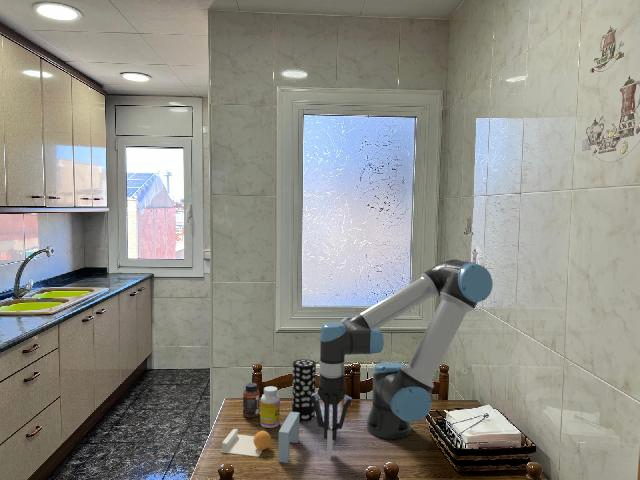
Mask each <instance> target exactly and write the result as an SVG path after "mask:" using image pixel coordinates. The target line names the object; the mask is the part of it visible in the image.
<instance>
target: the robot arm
mask: <svg viewBox="0 0 640 480" xmlns="http://www.w3.org/2000/svg"><path fill="white" fill-rule="evenodd" d="M493 283H494V282H493V278H492V275H491V272H490V271H489V270H488V269H487V268H486V267H485V266H483V265H481V264H478V263H476V262H472V261H470V262H469V261H465V260H464V261H463V260H461V259H449V260H444V261H442V262H441V263H438V264H436V265H435V266H432V267H431V268H429V269H428V270H426V271H424V272H422V273H421V274H420V278H418V279H417V280H414V281H413V282H411V283H409V284H408V285H406V286H405V287H402V288H401V289H399V290H398V291H396V292H394V293H393V294H391V295H390V296H387V297H386V298H384V299H383V300H381V301H379V302H377V303H376V304H374V305H372V306H370V307H368V308H367V309H365V310H364V311H362V312H360V313H358V314H356V315H354V316H353V317H349V316H348V317H344V318H342V319H341V320H340V321H339V322H333V321H331V322H325V323H323V324H322V325H321V328H320V335H319V336H320V337H319V340H320V341H319V343H320V344H319V345H320V346H319V349H320V351H319V356H320V357H319V358H320V359H319V382H318V383H319V386H318V389H317V392H316V391H315V393H313V394H312V395H311V397H310V399H311V400H312V402H313V404H314V408H315V417H316V420H317V421H316V422H317V426H318V427H319V428H322V429H323V439H324V440H326V451H327V452H330V453H331V452H333V449H334V441H336V440H337V438H338V436H337V435H338V430H341V429H342V428H343V426H344V424H345V423H344V422H345V418H346V415H347V411H348V408H349V406H350V405H351V403H352V400H353V397H352V396H349V395H347V393H346V390H345V375H344V374H345V361H346V359H345V358H346V357H345V356H347V355H351V356H352V355H372V354H380V353H382V351H383V350H384V346H385V345H384V344H385V343H384V341H385V338H384V334H383V332H382V330H380V328H382V327H384V326H386V325H387V324H389V323H390V322H392V321H394V320H395V319H397V318H399V317H401V316H403V315H404V314H406V313H407V312H409V311H411V310H412V309H414V308H415V307H417V306H419V305H421V304H422V303H424V302H427V301H428V300H429V299H431V298H435V299H437V298H438V297H441V300H440V302H439V305H438V306H437V308H436V310H435V312H434V314H433V316H432V318H431V320H430V322H429V323H428V326H427V328H426V330H425V331H424V333H423V335H422V337H421V338H420V341H419V342H418V344H417V346H416V348H415V350H414V352H413V354H412V355H411V358H410V360H409V362H408V364H405V363H402V362H393V361H386V362H385V361H383V362H379V363H376V364H375V365H374V366H373V372H372V405H371V408H370V411H369V414H368V416H367V419H366V430H367V431H368V432H369V434H371V435H373V436H376V437H378V438H381V439H387V440H397V439H398V440H399V439H400V440H401V439H403V438H406V437H408V436H410V434H411V432H412V431H411V429H412V428H411V427H412V426H411V423H416V422H419V421H421V420H423V419H425V417H427V416H428V415H429V412H430V411H431V408H432V398H431V396H430V395H431V393H432V391H433V389H434V387H435V386H434V382H433V378H434V377H435V375H436V372H437V370H438V369H439V367H440V365H441V363H442V361H443V359H444V357H445V355H446V353H447V351H448V350H449V347H450V346H451V344H452V342H453V339H454V338H455V335H456V334H457V332H458V330H459V328H460V326H461V324H462V323H463V321H464V319H465V317H466V315H467V313H469V312H473V311H474V310H475V308H476V307H477V304H478V303H479V302H480V303H481V302H482V301H485V300H486V299H488V297H489V296H490V295H491V293H492V290H493V286H494V284H493ZM319 399H321V401H322V402H323V409H324V410H323V411H324V412H323V413H322V409H321V405H320V401H319ZM342 400H343V403H344V405H343V407H342V412H341V415H340V419H339V422H338V411H339V409H338V408H339V403H340V402H342ZM330 405H332V407H331V408H332V418H331V419H332V421H331V422H332V424H331V425H332V426H330Z"/></svg>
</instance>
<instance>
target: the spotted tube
mask: <svg viewBox="0 0 640 480" xmlns="http://www.w3.org/2000/svg"><path fill="white" fill-rule="evenodd" d="M316 367H317V363H316V361H315V360H312V359H304V358H301V359H296V360H294V361H293V362H292V389H291V391H292V400H291V401H292V402H291V403H292V404H291V412H298V413H299V422H309V421H313V420H314V419H315V417H316V413H315V408H314V404H313V402H312V400H311V399H310V397H311V395H312V394H313V393H316V379H317V378H316V376H317V375H316V371H317V369H316Z"/></svg>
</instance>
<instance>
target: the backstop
mask: <svg viewBox="0 0 640 480" xmlns="http://www.w3.org/2000/svg"><path fill="white" fill-rule="evenodd" d="M238 434H239V429H238V428H233V429H232V430H231V431H230V433H229V434H228V435H227V436H226V438H224V440H223V441H222V442H221V451H222V450H224V451H227V449H228V448H229V447H230V445H231V444H232V443H233V442H234V440H235V439H236V438H237V436H238Z"/></svg>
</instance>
